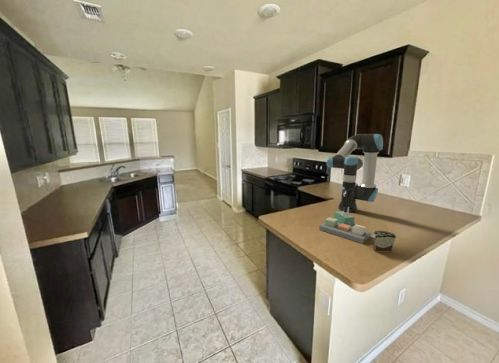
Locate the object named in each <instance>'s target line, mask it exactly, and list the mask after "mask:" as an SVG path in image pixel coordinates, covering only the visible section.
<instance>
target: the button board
mask: <svg viewBox="0 0 499 363" xmlns="http://www.w3.org/2000/svg"><path fill="white" fill-rule="evenodd" d="M340 224H341V223H337V225H336V226H335V227H331V226H327V225H325V222H323V223H321V224H319V227H318V228H319V231H322V232H326V233H328V234H331V235H334V236H337V237H341V238H343V239H347V240H349V241H352V242H355V243H360V244H362V245H363V244H364V243H365V242H366V241H368V239H369V238H370V237H371V233H372V232H371V231H369V230H366V231H365V234H364V235H363V236H360V235H357V234H354V233H352V228H353V227H351V230H349V231H348V232H346V231H343V230H340V229H338V226H339V225H340Z"/></svg>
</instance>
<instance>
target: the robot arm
mask: <svg viewBox="0 0 499 363" xmlns="http://www.w3.org/2000/svg"><path fill="white" fill-rule="evenodd" d="M383 147H384V138H383V135H382V134H379V133H359V134H355V135H353V136H351V137H349V138H347V140H345V141H344V144H343V146H341V148H340V149H339V150H338V151H337V153H336V154H334V156H328V157H327V158H326V167H327V168H332V169H342V170H343V174H342V180H343V181H342V188H341V199H340V201H339V204H338V207H337V208H338V210H339V211H344V213H343V216H344V217H348V215H350V214H349V213H356V212H358V205H357V200H358V201H364V202H367V203H368V202H370V203H373V202H375V200H376V199H377V196H378V193H379V192H378V191H379V189H378V187H377V185H376V184H375V180H376V168H377V159H378V158H377V157H378V154H379V153H380V152H381V151H382V150H383ZM355 150H362V153H364V159H363V160H362V159H361V158H359V157H358V156H350V155H351V154H352V152H353V151H355ZM361 168H362V169H363V170H362V178H361V179H362V182H361V183H360V184H359V185H358V183H357V173H358V172H357V171H358V170H361Z"/></svg>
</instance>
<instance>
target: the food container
mask: <svg viewBox="0 0 499 363" xmlns="http://www.w3.org/2000/svg"><path fill="white" fill-rule="evenodd" d="M372 238H373V251H374V252H377V253H378V252H381V253H383V252H387V253H389V252H392V250H393V247H394V244H395V239H397V235H396V234H395V233H393V232H390V231H386V230H375V231H374V232H373V234H372Z"/></svg>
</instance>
